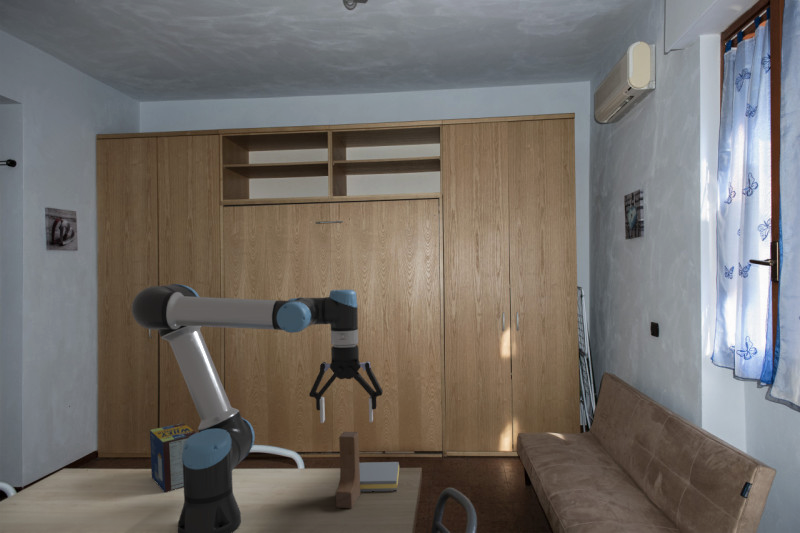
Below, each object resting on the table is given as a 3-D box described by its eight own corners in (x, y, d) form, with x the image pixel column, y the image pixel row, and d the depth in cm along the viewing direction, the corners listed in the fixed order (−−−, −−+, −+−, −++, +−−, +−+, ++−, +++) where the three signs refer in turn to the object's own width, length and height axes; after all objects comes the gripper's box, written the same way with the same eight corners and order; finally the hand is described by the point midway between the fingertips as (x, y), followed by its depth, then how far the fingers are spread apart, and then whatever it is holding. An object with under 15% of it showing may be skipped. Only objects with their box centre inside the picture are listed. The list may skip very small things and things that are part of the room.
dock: (348, 492, 147) (348, 481, 147) (354, 472, 161) (354, 462, 161) (397, 491, 146) (396, 481, 146) (399, 471, 160) (399, 461, 160)
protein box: (184, 468, 169) (183, 422, 169) (200, 482, 157) (198, 433, 157) (150, 477, 162) (149, 429, 162) (164, 493, 150) (162, 441, 150)
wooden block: (351, 509, 136) (349, 442, 136) (335, 508, 137) (333, 442, 137) (360, 494, 145) (358, 431, 145) (345, 493, 146) (343, 431, 146)
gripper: (297, 348, 138) (299, 426, 138) (388, 346, 137) (390, 424, 137) (303, 343, 145) (305, 417, 145) (390, 342, 144) (392, 416, 144)
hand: (346, 421), depth 141 cm, fingers open, 13 cm apart
